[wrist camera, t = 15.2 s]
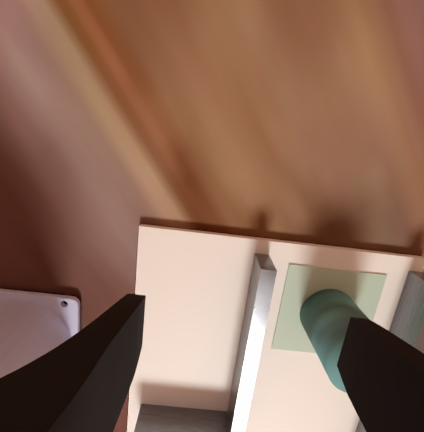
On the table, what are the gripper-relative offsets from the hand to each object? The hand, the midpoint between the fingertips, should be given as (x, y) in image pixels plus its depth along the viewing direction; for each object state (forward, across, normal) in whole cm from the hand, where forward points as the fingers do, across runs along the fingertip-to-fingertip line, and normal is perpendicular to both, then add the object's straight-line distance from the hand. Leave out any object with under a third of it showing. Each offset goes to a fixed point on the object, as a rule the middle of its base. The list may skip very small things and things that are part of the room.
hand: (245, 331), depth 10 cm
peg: (+10, -8, +5) cm, 14 cm away
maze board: (+10, -4, +14) cm, 18 cm away
